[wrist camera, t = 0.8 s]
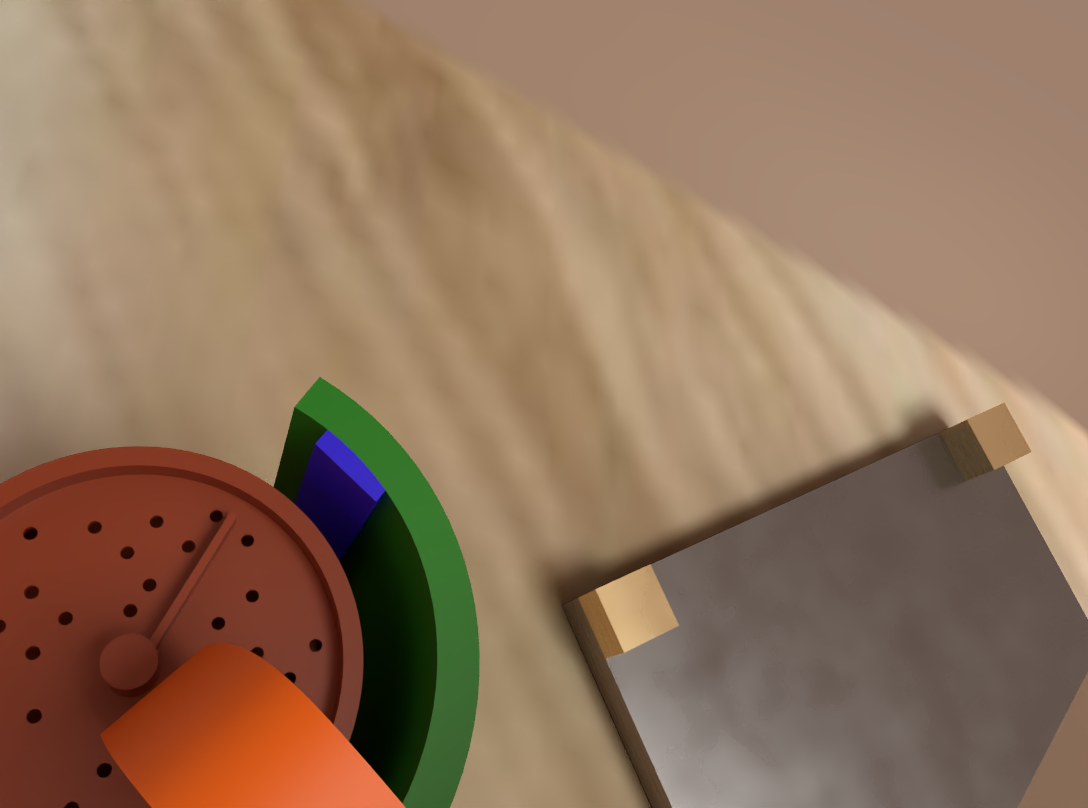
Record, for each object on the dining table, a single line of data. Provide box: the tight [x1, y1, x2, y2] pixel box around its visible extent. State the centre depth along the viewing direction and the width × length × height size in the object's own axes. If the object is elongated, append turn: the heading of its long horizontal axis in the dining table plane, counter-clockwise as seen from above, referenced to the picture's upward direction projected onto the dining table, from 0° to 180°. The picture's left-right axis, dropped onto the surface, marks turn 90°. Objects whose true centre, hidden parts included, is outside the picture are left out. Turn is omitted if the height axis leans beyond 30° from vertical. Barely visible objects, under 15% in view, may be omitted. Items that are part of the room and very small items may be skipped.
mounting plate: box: [562, 403, 1088, 808], centre depth 34 cm, size 18×18×3 cm
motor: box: [0, 377, 479, 808], centre depth 19 cm, size 10×9×20 cm
